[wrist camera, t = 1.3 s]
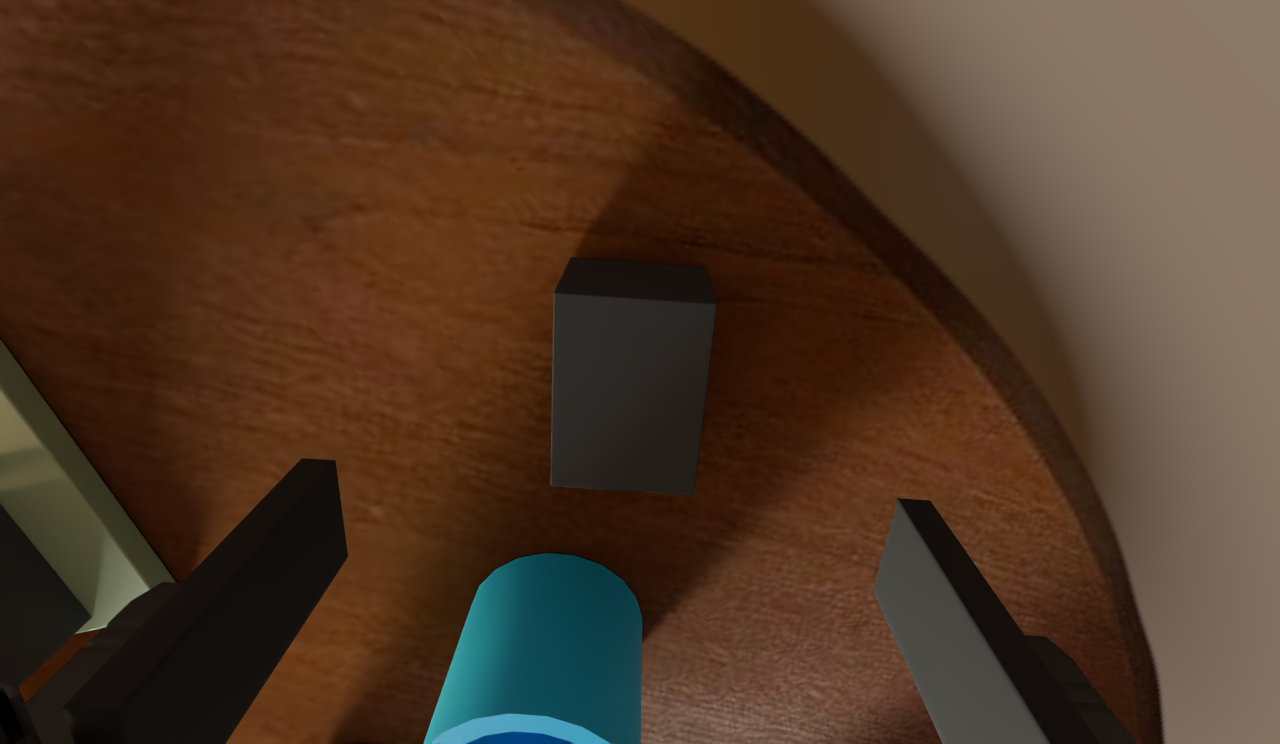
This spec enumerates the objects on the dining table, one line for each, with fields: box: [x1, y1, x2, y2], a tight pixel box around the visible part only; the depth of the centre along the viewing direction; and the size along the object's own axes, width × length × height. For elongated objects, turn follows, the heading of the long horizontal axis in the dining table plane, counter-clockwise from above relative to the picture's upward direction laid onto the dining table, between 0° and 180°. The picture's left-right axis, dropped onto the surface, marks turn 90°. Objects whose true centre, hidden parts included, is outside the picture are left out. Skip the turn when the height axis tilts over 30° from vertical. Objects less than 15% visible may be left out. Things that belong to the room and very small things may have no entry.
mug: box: [423, 553, 642, 744], centre depth 28 cm, size 12×8×8 cm
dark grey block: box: [550, 257, 717, 496], centre depth 23 cm, size 7×5×4 cm
